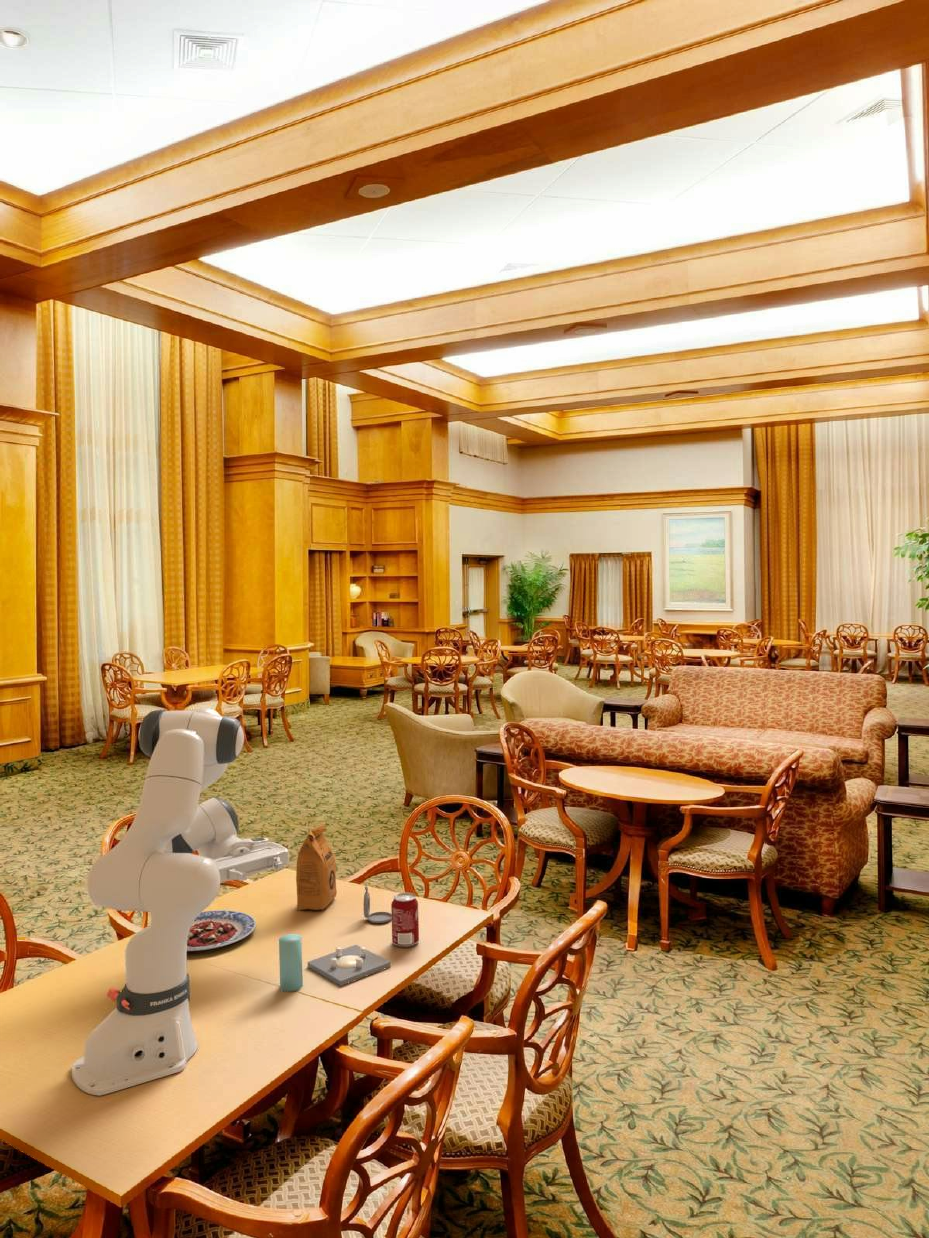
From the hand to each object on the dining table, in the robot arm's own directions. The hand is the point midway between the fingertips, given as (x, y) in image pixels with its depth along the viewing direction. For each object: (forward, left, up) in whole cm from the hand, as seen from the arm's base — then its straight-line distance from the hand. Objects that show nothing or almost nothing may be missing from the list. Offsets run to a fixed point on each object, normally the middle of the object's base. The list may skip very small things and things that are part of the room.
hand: (262, 872), depth 198 cm
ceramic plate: (-1, +28, -24) cm, 37 cm away
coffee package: (+32, +26, -23) cm, 47 cm away
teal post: (0, -13, -23) cm, 26 cm away
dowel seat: (+15, -14, -23) cm, 30 cm away
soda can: (+33, -13, -23) cm, 42 cm away
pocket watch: (+37, +5, -23) cm, 44 cm away
